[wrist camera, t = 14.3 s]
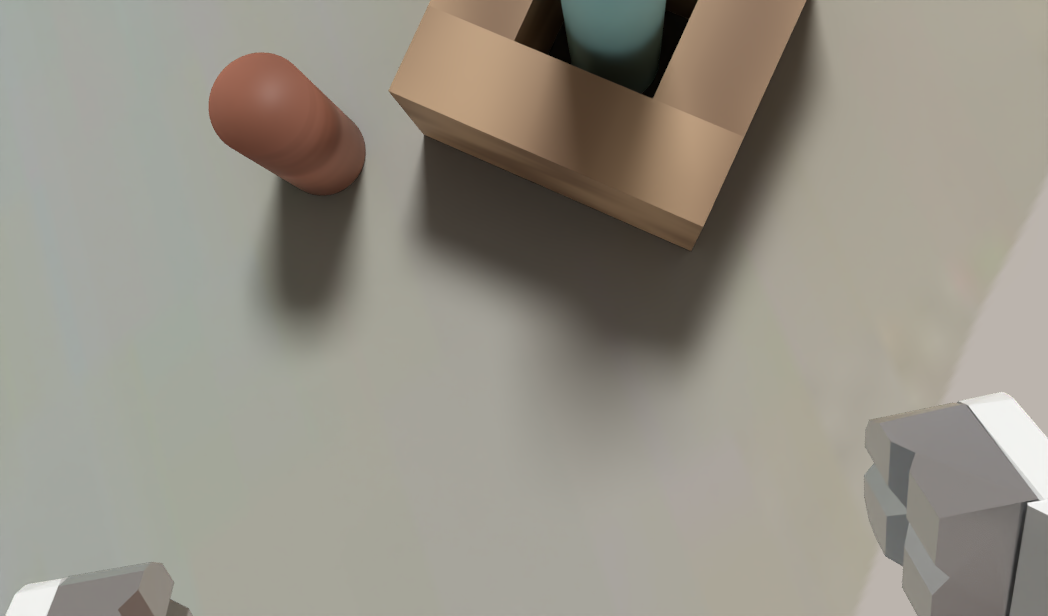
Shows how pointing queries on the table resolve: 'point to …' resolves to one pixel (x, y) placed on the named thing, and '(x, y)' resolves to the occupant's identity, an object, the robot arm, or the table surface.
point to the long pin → (616, 39)
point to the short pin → (285, 124)
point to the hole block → (596, 104)
